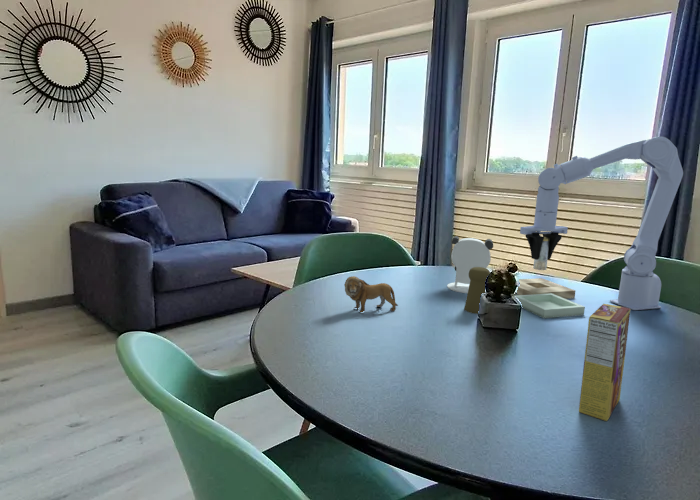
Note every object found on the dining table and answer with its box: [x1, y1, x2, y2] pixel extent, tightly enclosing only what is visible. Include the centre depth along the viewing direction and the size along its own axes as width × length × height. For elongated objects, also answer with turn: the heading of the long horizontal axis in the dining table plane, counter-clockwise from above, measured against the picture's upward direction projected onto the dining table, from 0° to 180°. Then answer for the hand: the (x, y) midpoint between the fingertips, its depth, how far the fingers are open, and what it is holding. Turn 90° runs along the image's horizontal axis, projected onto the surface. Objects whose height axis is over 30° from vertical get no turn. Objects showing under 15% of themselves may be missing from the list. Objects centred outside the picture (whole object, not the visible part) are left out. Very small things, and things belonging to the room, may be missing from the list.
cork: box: [463, 267, 491, 315], centre depth 117 cm, size 6×6×11 cm
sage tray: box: [515, 293, 586, 319], centre depth 120 cm, size 12×12×2 cm
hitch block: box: [516, 277, 576, 300], centre depth 136 cm, size 14×14×2 cm
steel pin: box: [533, 237, 550, 271], centre depth 134 cm, size 4×4×9 cm
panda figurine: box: [446, 235, 494, 294], centre depth 137 cm, size 12×11×15 cm
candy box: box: [578, 303, 632, 422], centre depth 71 cm, size 9×4×15 cm, turn 140°
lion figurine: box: [344, 275, 399, 312], centre depth 114 cm, size 15×5×9 cm, turn 114°
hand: (540, 258), depth 134 cm, fingers closed on steel pin, 3 cm apart
